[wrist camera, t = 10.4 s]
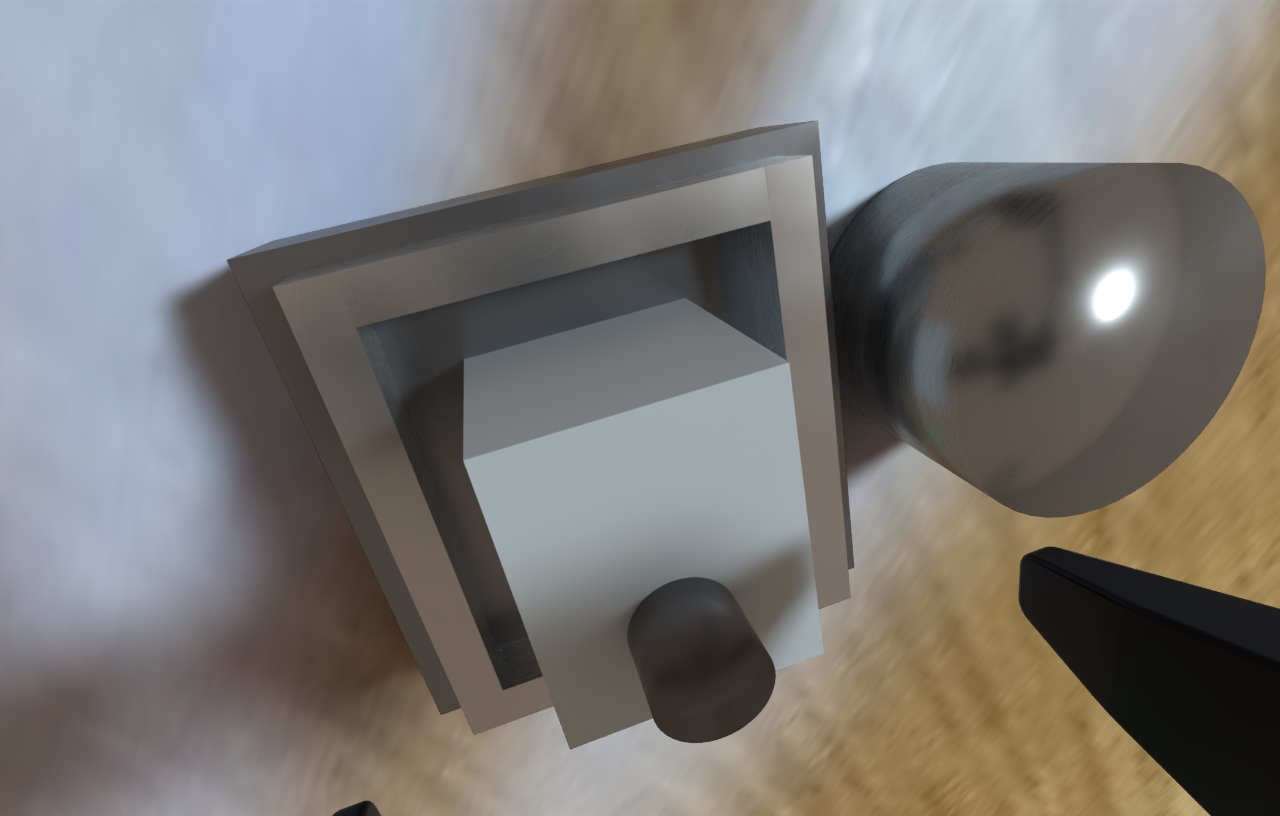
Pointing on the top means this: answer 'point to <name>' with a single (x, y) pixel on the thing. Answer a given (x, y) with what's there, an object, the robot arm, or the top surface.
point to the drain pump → (647, 518)
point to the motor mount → (763, 342)
